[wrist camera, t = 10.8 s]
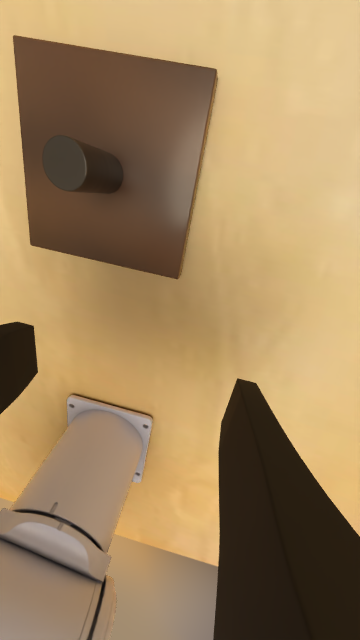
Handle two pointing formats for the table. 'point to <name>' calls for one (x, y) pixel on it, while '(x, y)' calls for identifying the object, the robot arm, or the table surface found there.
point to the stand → (111, 151)
